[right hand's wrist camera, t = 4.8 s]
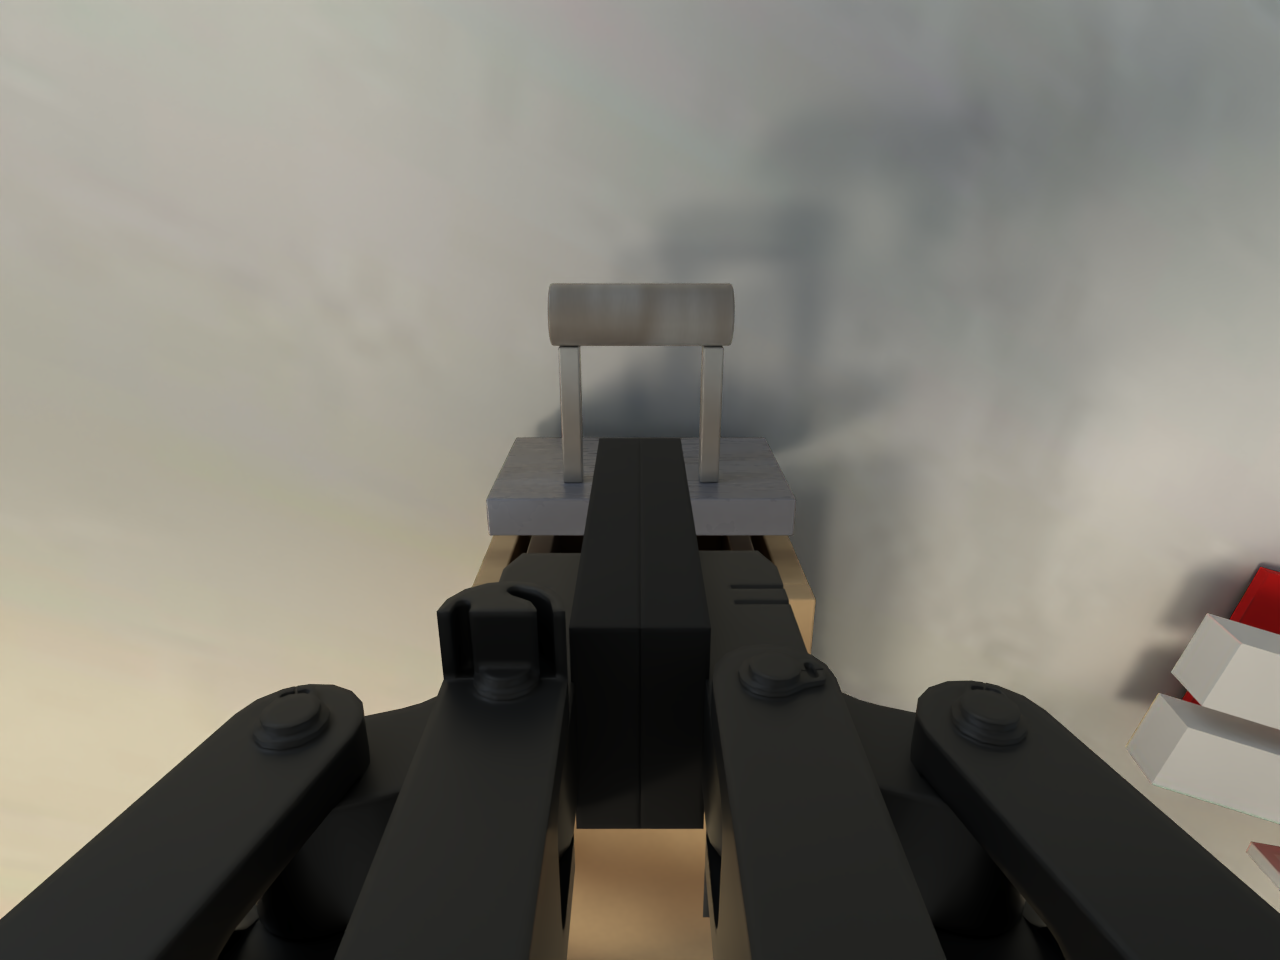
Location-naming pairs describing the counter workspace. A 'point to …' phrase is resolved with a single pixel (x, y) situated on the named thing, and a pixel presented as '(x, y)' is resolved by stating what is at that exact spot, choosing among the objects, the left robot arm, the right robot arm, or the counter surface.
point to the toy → (1224, 716)
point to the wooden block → (648, 832)
